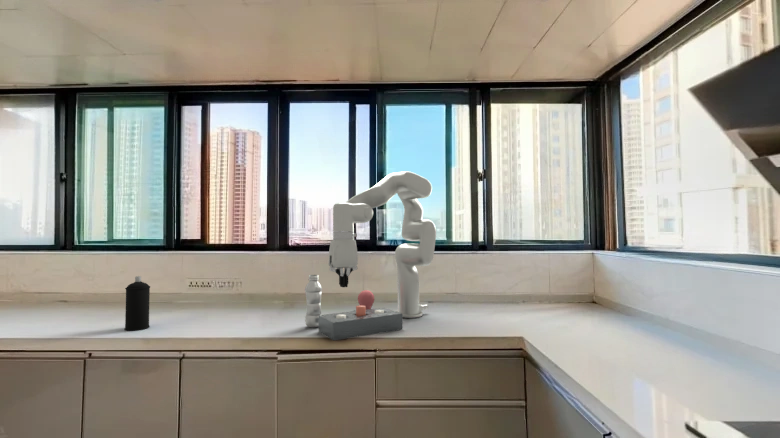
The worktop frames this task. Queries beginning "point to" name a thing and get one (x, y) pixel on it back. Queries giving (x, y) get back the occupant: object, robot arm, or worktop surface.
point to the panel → (359, 323)
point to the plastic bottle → (313, 301)
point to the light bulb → (366, 299)
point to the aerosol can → (137, 305)
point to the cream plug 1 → (340, 316)
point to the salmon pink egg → (360, 310)
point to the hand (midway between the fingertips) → (343, 286)
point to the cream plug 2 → (379, 311)
